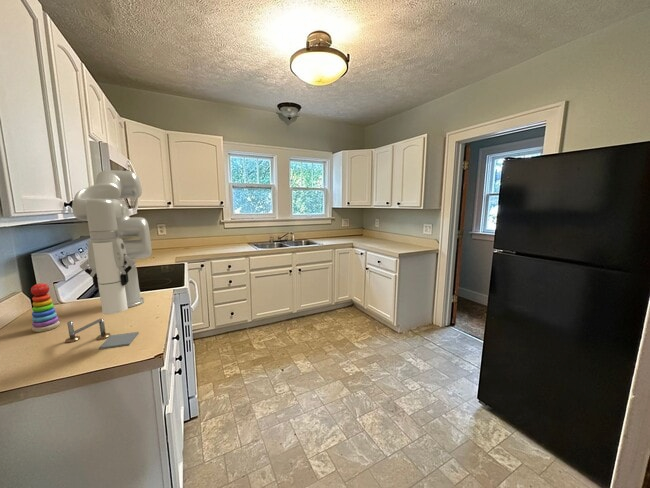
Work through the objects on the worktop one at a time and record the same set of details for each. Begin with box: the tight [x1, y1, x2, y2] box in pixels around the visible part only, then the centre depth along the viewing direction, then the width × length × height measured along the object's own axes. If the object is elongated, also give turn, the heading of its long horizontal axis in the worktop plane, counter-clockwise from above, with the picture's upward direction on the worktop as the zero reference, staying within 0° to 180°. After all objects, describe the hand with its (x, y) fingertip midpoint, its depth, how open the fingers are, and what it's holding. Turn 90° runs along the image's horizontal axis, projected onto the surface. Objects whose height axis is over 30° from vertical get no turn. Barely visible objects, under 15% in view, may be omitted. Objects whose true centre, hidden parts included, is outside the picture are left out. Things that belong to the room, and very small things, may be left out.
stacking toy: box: [30, 282, 61, 333], centre depth 108 cm, size 8×8×19 cm
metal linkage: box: [65, 318, 112, 344], centre depth 96 cm, size 14×14×8 cm
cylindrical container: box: [92, 242, 129, 315], centre depth 95 cm, size 7×7×25 cm
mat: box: [98, 331, 140, 350], centre depth 99 cm, size 9×9×1 cm
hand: (111, 285), depth 95 cm, fingers closed on cylindrical container, 7 cm apart
